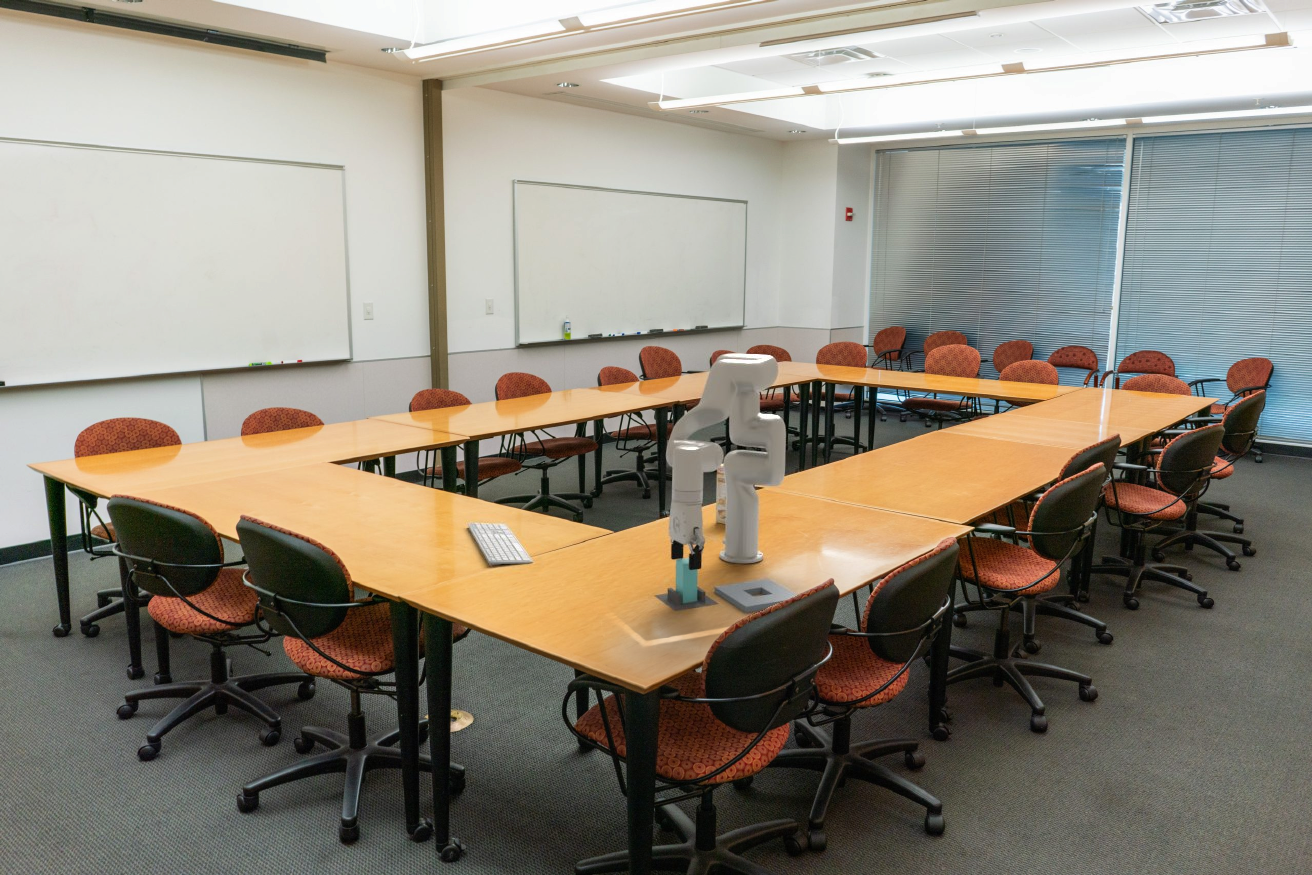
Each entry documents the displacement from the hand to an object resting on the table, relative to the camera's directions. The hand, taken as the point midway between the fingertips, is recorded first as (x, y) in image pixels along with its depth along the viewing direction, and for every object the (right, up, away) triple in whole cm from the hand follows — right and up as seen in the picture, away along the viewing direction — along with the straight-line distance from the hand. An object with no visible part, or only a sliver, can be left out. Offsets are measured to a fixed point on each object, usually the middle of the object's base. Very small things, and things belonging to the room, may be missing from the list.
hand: (685, 563), depth 228 cm
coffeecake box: (+19, +3, +84) cm, 86 cm away
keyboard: (-55, -2, +53) cm, 77 cm away
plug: (0, -9, +2) cm, 9 cm away
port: (+18, -10, +4) cm, 21 cm away
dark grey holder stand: (0, -10, +2) cm, 10 cm away
